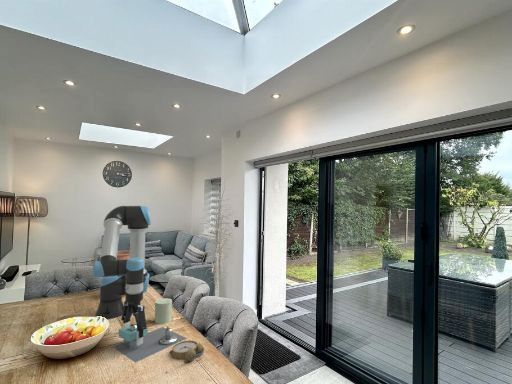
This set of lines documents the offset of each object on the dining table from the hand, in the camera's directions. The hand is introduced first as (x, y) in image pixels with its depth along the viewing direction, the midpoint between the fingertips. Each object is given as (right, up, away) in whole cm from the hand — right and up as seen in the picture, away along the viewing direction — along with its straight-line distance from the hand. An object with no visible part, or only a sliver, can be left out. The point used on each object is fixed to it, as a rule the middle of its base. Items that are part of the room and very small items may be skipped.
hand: (133, 340), depth 127 cm
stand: (0, -2, 0) cm, 2 cm away
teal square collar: (0, +2, 0) cm, 2 cm away
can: (+5, -4, +26) cm, 27 cm away
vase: (-43, -6, +73) cm, 85 cm away
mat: (+8, -3, +2) cm, 8 cm away
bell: (+15, -2, +3) cm, 16 cm away
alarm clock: (+27, -3, -7) cm, 29 cm away
